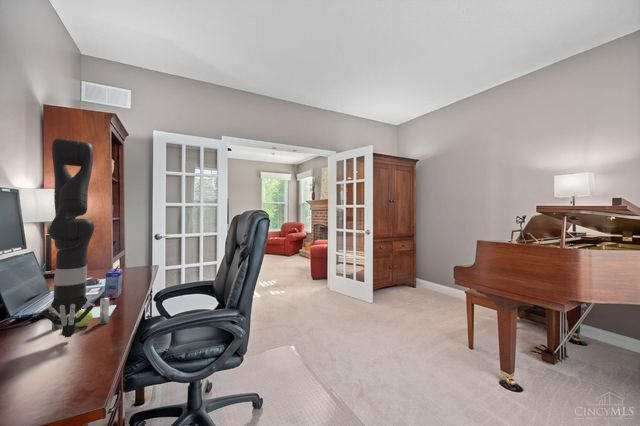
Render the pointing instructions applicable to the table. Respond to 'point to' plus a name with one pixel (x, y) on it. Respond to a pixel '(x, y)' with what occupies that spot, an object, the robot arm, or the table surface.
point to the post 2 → (104, 310)
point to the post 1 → (56, 327)
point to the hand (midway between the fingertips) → (68, 336)
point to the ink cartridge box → (113, 283)
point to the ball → (86, 319)
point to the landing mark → (96, 311)
